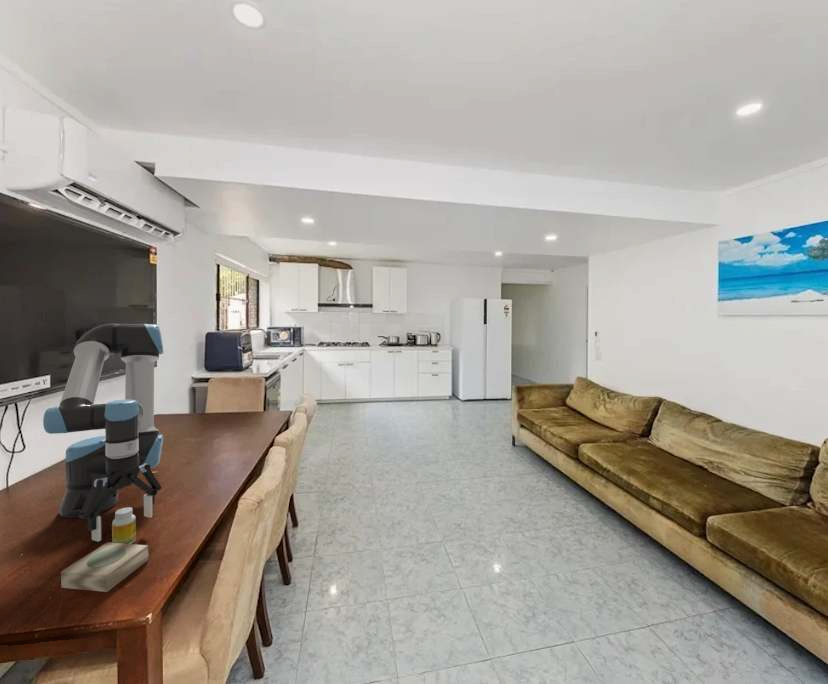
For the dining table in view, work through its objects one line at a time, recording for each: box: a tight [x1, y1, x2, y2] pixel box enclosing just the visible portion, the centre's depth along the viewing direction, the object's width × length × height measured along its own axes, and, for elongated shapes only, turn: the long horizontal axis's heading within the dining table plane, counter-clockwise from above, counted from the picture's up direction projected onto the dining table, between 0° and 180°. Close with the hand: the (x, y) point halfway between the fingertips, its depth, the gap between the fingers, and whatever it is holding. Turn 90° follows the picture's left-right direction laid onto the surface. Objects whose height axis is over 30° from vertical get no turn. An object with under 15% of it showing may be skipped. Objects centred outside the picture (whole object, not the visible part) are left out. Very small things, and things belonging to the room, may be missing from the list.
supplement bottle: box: [111, 506, 137, 544], centre depth 106 cm, size 5×5×10 cm
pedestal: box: [60, 541, 149, 593], centre depth 93 cm, size 12×12×4 cm
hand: (123, 527), depth 106 cm, fingers open, 13 cm apart
